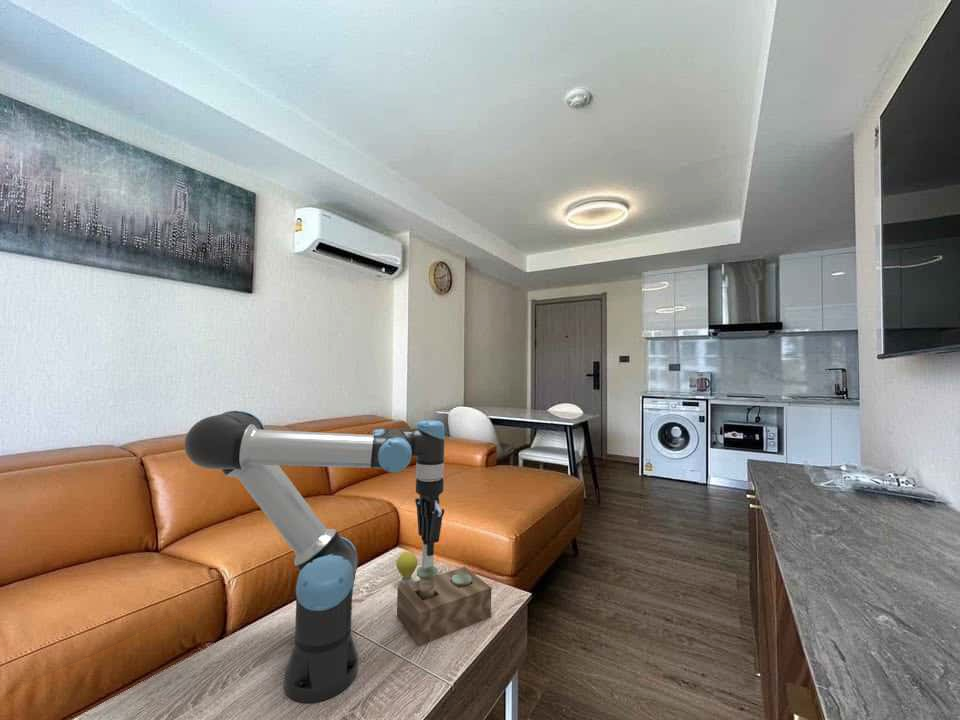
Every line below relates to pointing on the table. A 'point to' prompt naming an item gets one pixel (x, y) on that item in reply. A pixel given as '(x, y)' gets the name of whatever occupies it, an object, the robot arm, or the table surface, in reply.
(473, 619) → the socket block
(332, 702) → the table surface
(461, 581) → the far plunger
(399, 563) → the yellow light bulb
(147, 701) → the table surface
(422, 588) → the near plunger
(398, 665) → the table surface
